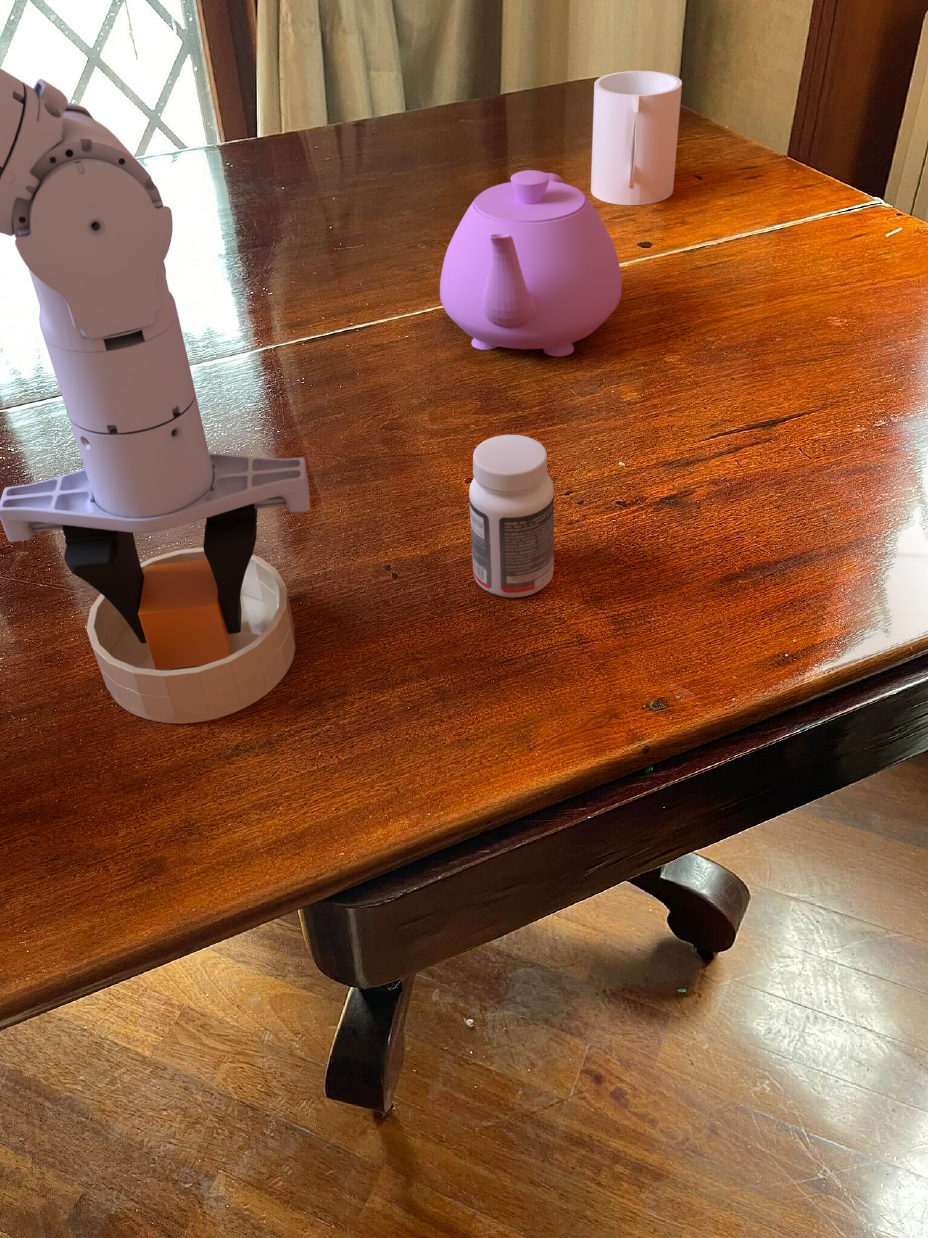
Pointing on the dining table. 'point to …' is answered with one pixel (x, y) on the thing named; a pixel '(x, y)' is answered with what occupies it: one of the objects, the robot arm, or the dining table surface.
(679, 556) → the dining table surface
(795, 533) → the dining table surface
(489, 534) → the pill bottle
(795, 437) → the dining table surface
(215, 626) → the block
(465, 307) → the teapot
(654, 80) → the cup
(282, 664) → the bowl
